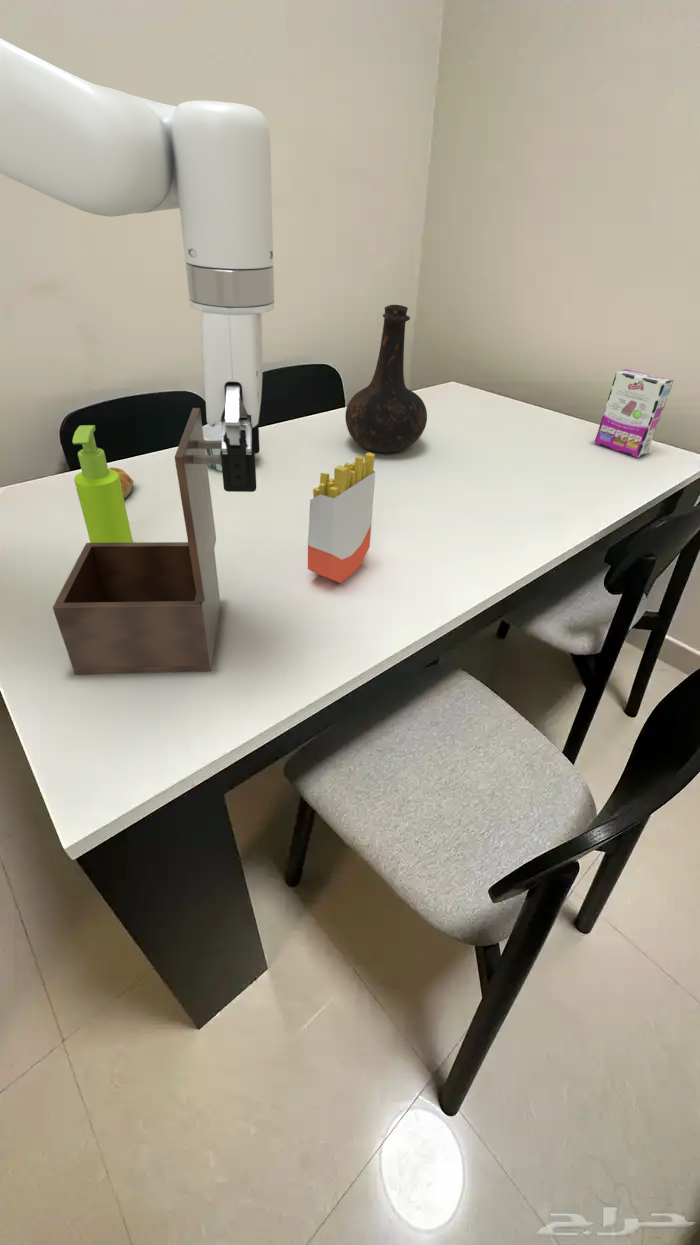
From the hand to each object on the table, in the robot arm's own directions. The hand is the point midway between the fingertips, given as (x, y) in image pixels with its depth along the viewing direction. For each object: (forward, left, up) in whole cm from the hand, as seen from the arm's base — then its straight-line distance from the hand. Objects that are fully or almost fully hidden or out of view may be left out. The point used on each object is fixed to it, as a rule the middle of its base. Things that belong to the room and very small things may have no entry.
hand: (243, 470), depth 62 cm
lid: (-6, 0, -4) cm, 7 cm away
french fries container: (+12, +15, -23) cm, 30 cm away
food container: (-7, +56, -23) cm, 61 cm away
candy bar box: (+82, +66, -23) cm, 108 cm away
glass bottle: (+26, +66, -23) cm, 75 cm away
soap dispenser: (-22, +19, -23) cm, 37 cm away
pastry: (-27, +41, -23) cm, 54 cm away
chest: (-13, 0, -23) cm, 26 cm away
